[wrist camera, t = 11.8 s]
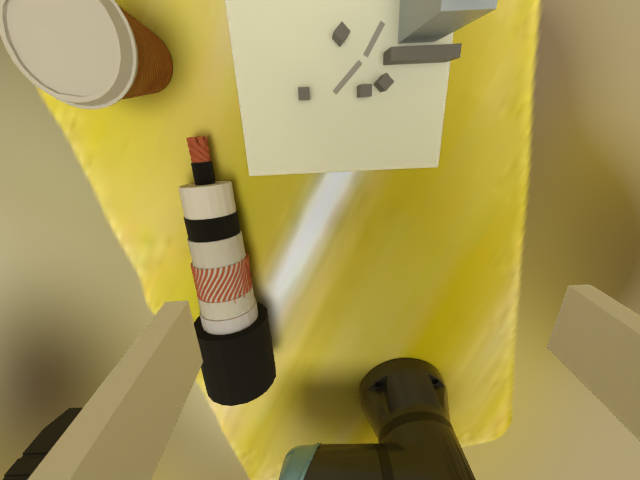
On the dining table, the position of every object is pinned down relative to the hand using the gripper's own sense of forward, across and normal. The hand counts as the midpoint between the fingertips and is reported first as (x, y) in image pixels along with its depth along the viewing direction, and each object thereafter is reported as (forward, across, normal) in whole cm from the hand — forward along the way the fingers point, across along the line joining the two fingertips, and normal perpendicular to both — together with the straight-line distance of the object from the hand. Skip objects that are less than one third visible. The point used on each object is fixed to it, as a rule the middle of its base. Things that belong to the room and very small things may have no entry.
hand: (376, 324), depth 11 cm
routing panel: (+30, -2, -10) cm, 32 cm away
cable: (+31, +15, +12) cm, 36 cm away
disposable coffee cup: (+30, +20, -13) cm, 39 cm away
